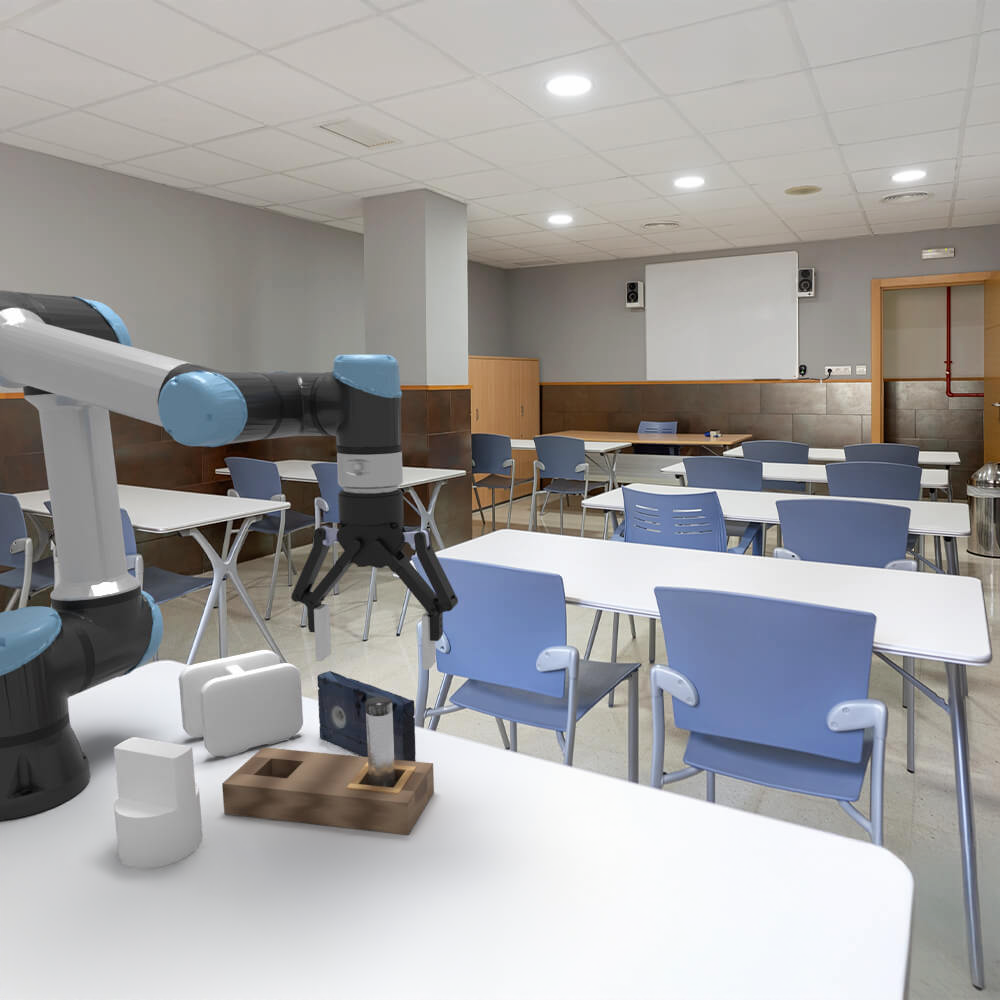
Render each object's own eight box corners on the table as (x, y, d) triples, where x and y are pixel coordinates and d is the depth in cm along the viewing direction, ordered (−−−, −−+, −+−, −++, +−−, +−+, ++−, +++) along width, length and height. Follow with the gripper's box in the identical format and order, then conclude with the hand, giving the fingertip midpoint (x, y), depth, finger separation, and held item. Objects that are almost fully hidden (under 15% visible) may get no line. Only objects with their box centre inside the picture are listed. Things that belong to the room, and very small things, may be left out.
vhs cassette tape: (417, 768, 111) (415, 699, 110) (401, 777, 109) (398, 706, 107) (335, 732, 123) (332, 669, 122) (318, 738, 121) (315, 674, 119)
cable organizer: (202, 765, 113) (196, 686, 111) (182, 739, 121) (176, 665, 120) (304, 737, 121) (300, 663, 120) (279, 714, 130) (275, 644, 128)
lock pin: (366, 813, 100) (361, 705, 97) (375, 800, 103) (371, 695, 101) (390, 816, 99) (386, 707, 97) (399, 803, 102) (395, 697, 100)
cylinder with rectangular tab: (100, 859, 91) (90, 759, 89) (159, 818, 99) (151, 726, 98) (164, 875, 88) (155, 771, 86) (219, 831, 96) (212, 736, 94)
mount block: (224, 813, 100) (222, 781, 100) (264, 775, 110) (262, 745, 109) (408, 834, 95) (407, 801, 94) (434, 792, 104) (433, 761, 104)
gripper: (257, 489, 94) (266, 664, 97) (465, 495, 88) (467, 681, 92) (288, 481, 101) (295, 644, 104) (481, 486, 96) (483, 658, 99)
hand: (375, 661), depth 98 cm, fingers open, 13 cm apart
